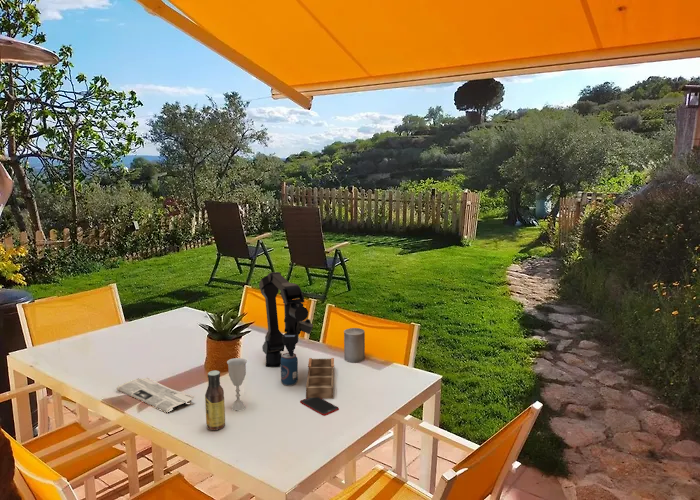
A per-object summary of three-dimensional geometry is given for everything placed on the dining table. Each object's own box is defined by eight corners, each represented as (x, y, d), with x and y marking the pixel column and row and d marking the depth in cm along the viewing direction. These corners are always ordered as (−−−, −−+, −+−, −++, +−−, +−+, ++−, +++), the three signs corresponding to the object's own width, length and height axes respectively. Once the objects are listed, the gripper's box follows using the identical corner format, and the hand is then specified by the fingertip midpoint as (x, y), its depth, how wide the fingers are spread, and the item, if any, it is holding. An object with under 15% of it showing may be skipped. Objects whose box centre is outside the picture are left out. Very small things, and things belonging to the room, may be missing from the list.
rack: (305, 398, 192) (305, 386, 191) (309, 368, 222) (309, 357, 221) (333, 398, 193) (333, 386, 192) (333, 368, 222) (333, 357, 222)
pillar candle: (365, 355, 238) (365, 325, 236) (363, 363, 228) (363, 331, 226) (345, 355, 239) (345, 324, 237) (342, 362, 229) (342, 331, 227)
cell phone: (315, 397, 195) (315, 394, 194) (339, 410, 184) (339, 408, 184) (299, 403, 189) (299, 400, 189) (323, 417, 179) (323, 414, 179)
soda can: (277, 382, 207) (277, 355, 205) (290, 377, 212) (290, 350, 210) (288, 387, 202) (288, 359, 200) (301, 382, 207) (301, 355, 205)
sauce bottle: (208, 422, 174) (206, 368, 171) (226, 421, 174) (224, 368, 171) (204, 432, 167) (202, 376, 164) (223, 431, 168) (221, 375, 165)
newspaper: (116, 391, 199) (116, 382, 198) (145, 380, 209) (144, 372, 208) (170, 416, 179) (169, 407, 178) (198, 403, 189) (198, 394, 188)
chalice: (251, 405, 187) (250, 359, 184) (242, 413, 180) (240, 366, 177) (234, 402, 189) (233, 357, 186) (224, 410, 183) (223, 363, 180)
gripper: (310, 321, 194) (311, 359, 196) (312, 309, 213) (313, 345, 214) (281, 321, 194) (282, 360, 196) (286, 310, 212) (287, 345, 214)
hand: (292, 352), depth 205 cm, fingers open, 9 cm apart
